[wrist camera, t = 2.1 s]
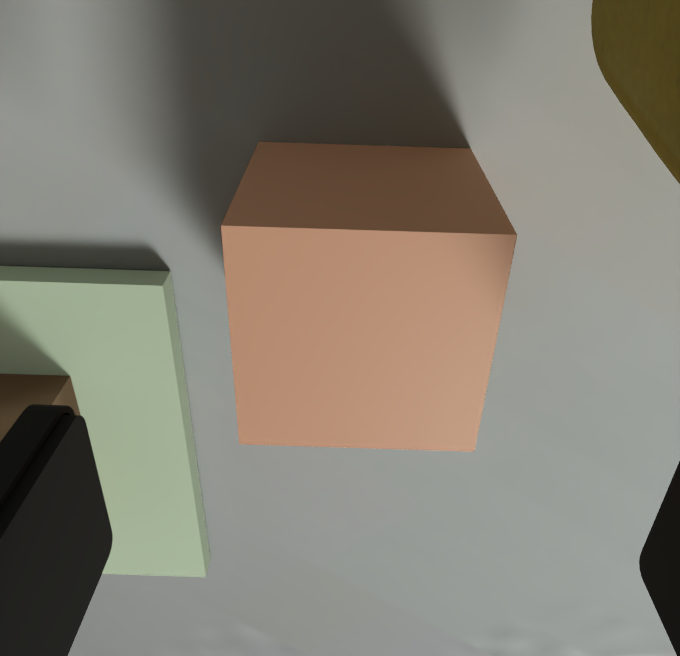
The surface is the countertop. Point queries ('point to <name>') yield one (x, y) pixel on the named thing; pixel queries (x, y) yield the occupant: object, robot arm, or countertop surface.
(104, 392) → the plate
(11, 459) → the robot arm
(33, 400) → the base block
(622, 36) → the flower pot
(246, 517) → the countertop surface
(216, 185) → the countertop surface
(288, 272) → the cube
